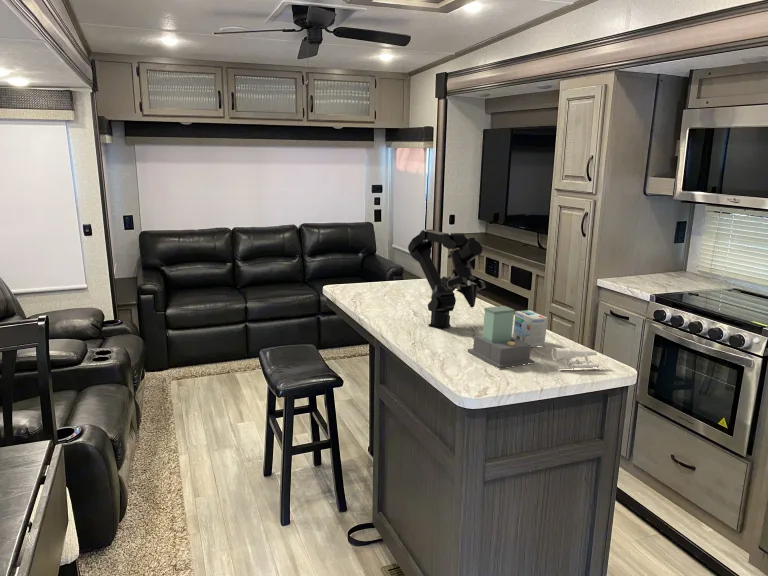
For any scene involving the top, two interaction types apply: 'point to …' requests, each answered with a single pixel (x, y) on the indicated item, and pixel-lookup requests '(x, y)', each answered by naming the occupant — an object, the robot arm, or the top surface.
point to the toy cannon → (570, 353)
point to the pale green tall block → (498, 324)
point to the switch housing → (501, 352)
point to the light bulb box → (530, 328)
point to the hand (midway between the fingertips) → (472, 307)
